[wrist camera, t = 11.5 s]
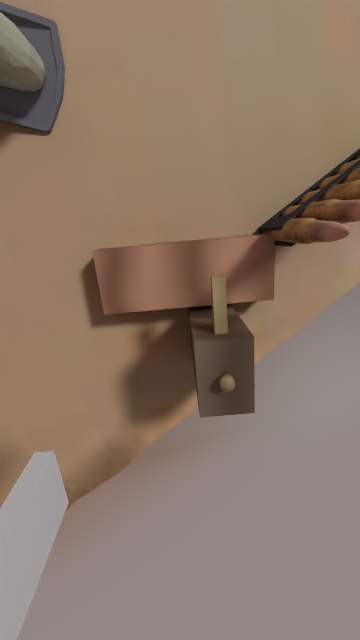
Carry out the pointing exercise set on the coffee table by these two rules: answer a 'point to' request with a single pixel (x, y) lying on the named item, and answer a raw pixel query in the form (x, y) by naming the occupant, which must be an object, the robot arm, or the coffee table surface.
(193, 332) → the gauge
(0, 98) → the hand plane
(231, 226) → the coffee table surface
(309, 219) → the ammunition clip
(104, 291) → the board
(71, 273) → the coffee table surface
